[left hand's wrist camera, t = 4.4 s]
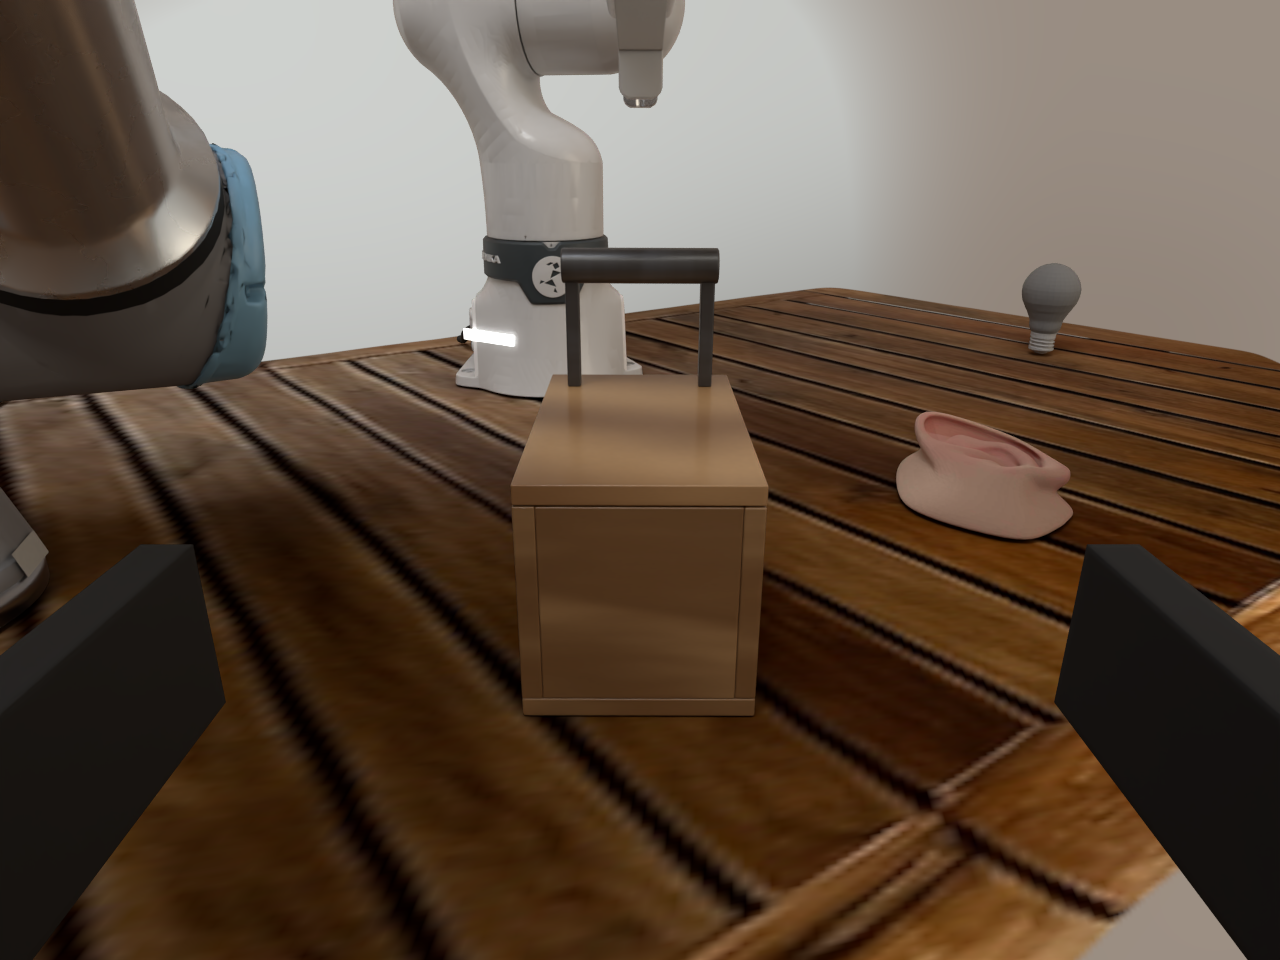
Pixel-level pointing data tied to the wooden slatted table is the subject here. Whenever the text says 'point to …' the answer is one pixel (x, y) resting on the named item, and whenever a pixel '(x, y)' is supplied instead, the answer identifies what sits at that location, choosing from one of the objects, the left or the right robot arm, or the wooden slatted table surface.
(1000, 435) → the anatomical model
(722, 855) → the wooden slatted table surface
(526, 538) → the chest
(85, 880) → the left robot arm
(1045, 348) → the light bulb
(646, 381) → the lid
